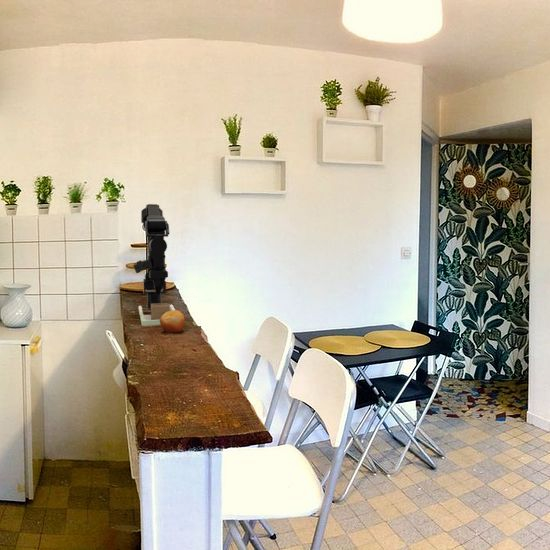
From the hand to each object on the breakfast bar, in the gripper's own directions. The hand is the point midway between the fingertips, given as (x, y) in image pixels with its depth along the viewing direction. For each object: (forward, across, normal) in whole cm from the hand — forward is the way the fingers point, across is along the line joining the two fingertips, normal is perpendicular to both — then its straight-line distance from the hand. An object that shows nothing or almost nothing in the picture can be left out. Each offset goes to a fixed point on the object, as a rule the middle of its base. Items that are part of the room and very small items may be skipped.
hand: (157, 294), depth 189 cm
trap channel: (+9, 0, 0) cm, 9 cm away
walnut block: (+8, +10, 0) cm, 13 cm away
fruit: (+9, +24, +3) cm, 26 cm away
